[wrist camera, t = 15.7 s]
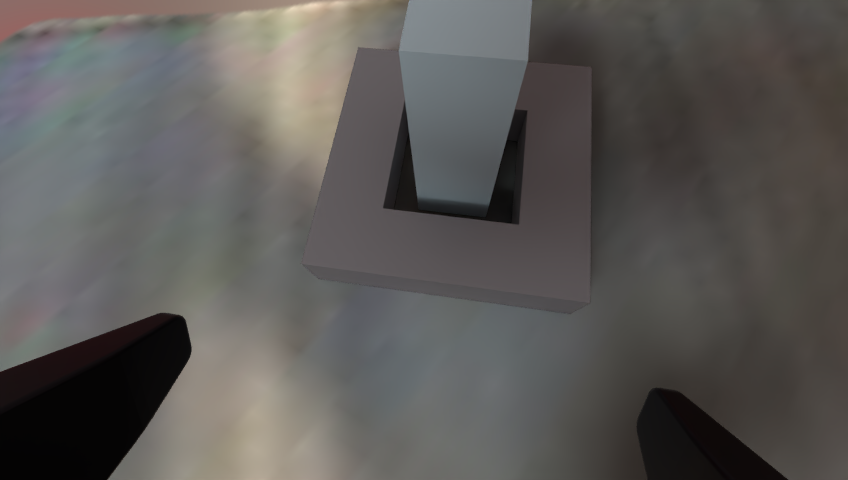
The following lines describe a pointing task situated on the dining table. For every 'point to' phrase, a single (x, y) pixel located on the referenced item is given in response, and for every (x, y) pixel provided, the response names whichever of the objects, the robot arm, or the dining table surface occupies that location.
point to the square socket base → (452, 236)
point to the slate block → (461, 95)
